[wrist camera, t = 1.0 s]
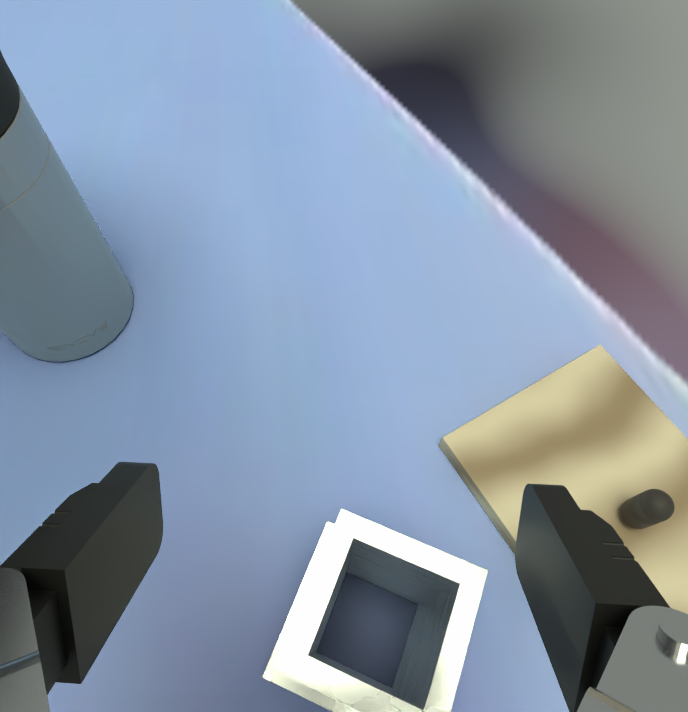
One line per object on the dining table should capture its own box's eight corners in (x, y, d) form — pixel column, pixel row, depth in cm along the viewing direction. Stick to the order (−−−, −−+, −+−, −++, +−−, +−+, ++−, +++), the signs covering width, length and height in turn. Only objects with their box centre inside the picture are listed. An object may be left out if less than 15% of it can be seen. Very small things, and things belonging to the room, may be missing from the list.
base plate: (438, 445, 37) (454, 414, 32) (591, 354, 40) (626, 314, 36) (655, 755, 29) (720, 777, 24) (822, 608, 32) (908, 601, 28)
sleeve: (264, 676, 30) (227, 692, 20) (327, 523, 34) (325, 469, 24) (416, 751, 29) (465, 812, 18) (464, 582, 33) (526, 552, 22)
